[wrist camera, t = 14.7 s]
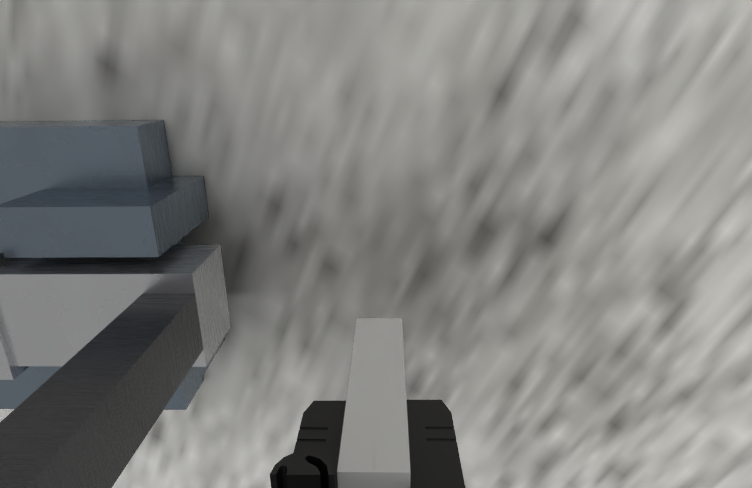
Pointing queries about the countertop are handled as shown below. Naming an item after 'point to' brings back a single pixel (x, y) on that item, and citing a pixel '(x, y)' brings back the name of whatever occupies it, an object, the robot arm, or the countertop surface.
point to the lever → (101, 356)
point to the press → (92, 207)
